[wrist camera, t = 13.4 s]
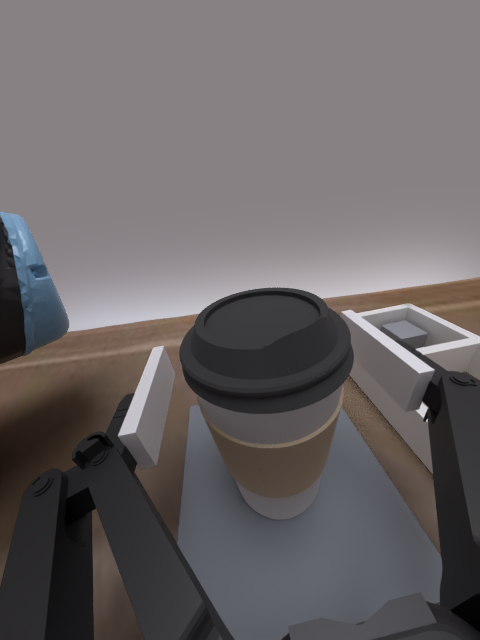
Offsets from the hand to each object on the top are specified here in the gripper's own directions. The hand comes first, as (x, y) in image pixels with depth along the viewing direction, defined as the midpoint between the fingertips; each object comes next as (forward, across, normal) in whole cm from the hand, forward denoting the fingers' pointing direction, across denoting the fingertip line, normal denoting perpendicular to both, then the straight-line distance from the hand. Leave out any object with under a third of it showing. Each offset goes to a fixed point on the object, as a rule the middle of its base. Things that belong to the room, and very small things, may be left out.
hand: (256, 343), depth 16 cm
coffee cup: (-3, 0, -10) cm, 11 cm away
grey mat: (-3, 0, -11) cm, 11 cm away
